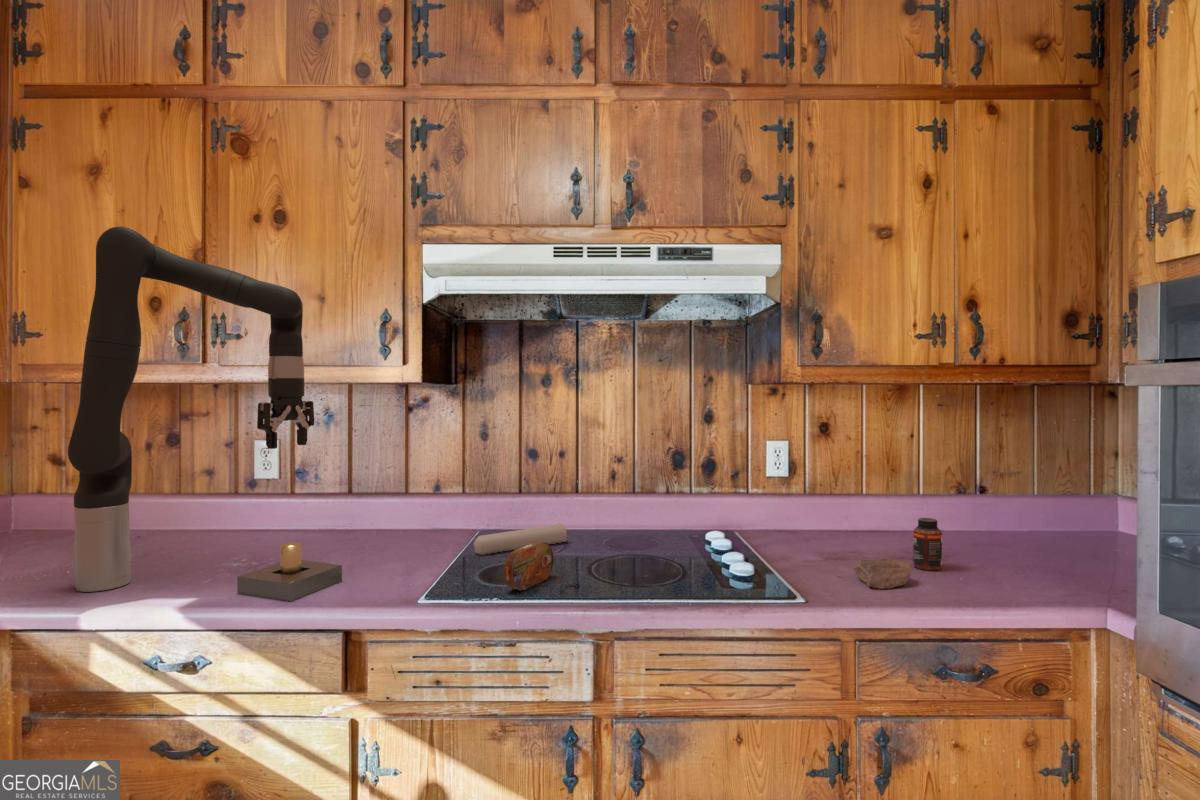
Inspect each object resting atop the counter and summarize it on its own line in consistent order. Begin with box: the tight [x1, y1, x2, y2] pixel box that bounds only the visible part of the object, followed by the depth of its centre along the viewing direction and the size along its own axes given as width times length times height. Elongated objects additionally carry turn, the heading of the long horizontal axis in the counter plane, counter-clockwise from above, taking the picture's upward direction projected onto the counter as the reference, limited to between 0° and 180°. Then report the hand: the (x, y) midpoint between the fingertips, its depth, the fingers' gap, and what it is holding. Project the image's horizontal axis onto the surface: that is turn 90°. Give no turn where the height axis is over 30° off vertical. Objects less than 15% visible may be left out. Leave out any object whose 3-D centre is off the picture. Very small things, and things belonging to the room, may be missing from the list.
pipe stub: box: [279, 541, 302, 575], centre depth 136 cm, size 4×4×9 cm
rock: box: [852, 558, 912, 590], centre depth 140 cm, size 12×10×5 cm
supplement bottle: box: [912, 517, 943, 572], centre depth 150 cm, size 6×6×11 cm
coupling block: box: [236, 559, 343, 602], centre depth 136 cm, size 14×14×4 cm
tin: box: [503, 542, 554, 592], centre depth 138 cm, size 15×3×8 cm, turn 151°
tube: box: [473, 522, 568, 556], centre depth 169 cm, size 5×5×25 cm
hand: (287, 446), depth 150 cm, fingers open, 8 cm apart
